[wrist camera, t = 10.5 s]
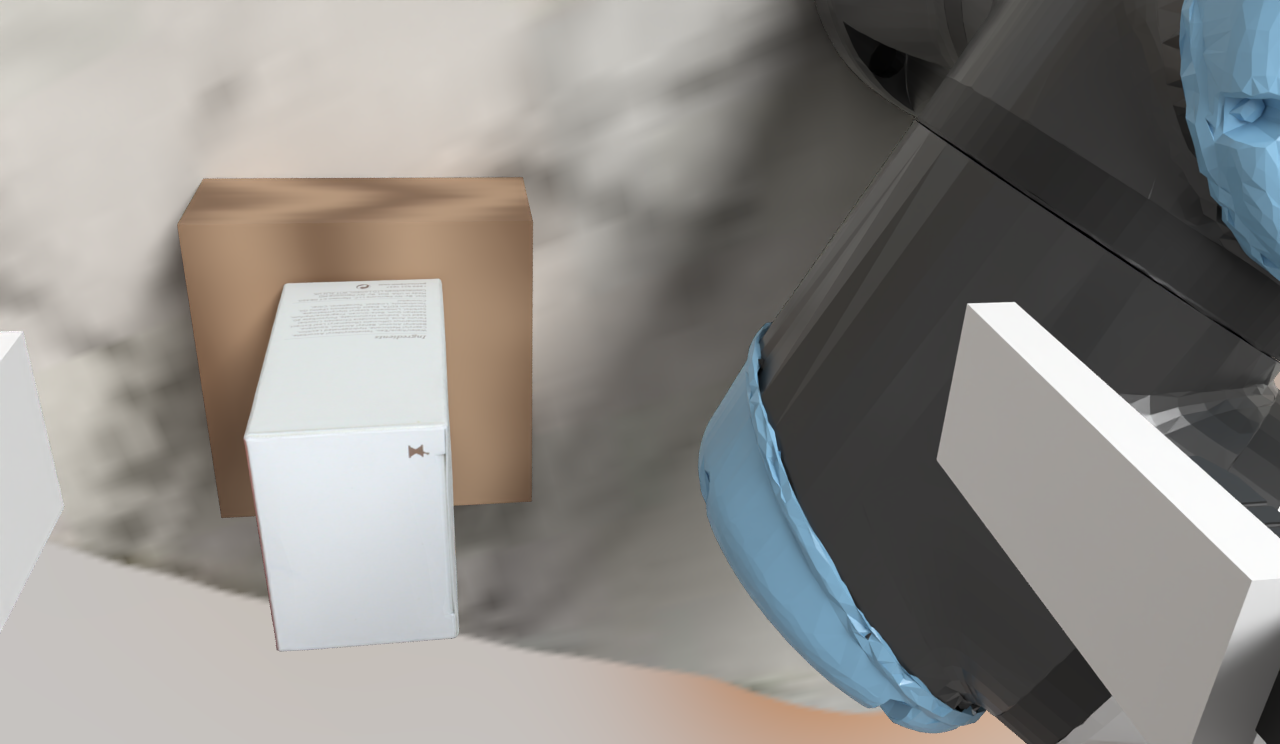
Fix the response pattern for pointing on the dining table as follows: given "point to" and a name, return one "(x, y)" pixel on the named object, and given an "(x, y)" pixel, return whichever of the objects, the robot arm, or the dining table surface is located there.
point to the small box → (355, 466)
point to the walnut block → (369, 251)
